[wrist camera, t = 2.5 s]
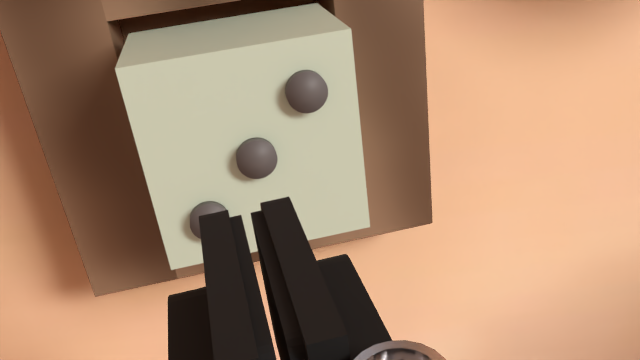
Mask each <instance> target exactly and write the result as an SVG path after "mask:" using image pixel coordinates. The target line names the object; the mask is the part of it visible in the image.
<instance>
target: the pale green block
mask: <svg viewBox="0 0 640 360" xmlns="http://www.w3.org/2000/svg"><path fill="white" fill-rule="evenodd" d="M115 71H116V75H117V78H118V82H119V86H120V89H121V93H122V96H123V100H124V103H125V107H126V111H127V114H128V118H129V121H130V125H131V128H132V132H133V136H134V139H135V143H136V146H137V150H138V153H139V157H140V161H141V164H142V168H143V171H144V175H145V178H146V182H147V186H148V189H149V193H150V196H151V200H152V203H153V207H154V211H155V214H156V218H157V221H158V225H159V229H160V232H161V236H162V239H163V243H164V246H165V250H166V254H167V257H168V261H169V264H170V268H171V270H174V269H178V268H183V267H188V266H192V265H197V264H201V263H203V254H202V245H201V235H200V226H199V216H201V215H206V214H211V213H215V212H220V211H225V210H228V212H229V217H233V216H238V215H241V216H242V220H243V224H244V228H245V232H246V236H247V240H248V244H249V249H250V253H252V252H257V251H258V249H257V244H256V239H255V234H254V229H253V224H252V219H251V213H252V212H256V211H261V206H260V203H261V202H266V201H271V200H275V199H280V198H284V197H290V199H291V202H292V204H293V206H294V209H295V211H296V214H297V216H298V218H299V221H300V223H301V225H302V228H303V230H304V233H305V235H306V237H307V240H312V239H317V238H322V237H326V236H331V235H336V234H340V233H345V232H349V231H354V230H359V229H363V228H368V227H370V220H369V209H368V199H367V188H366V178H365V168H364V157H363V147H362V136H361V126H360V115H359V105H358V94H357V84H356V73H355V63H354V52H353V42H352V31H351V28H350V27H348V26H347V25H346V24H344V23H343V22H342V21H340V20H339V19H338V18H336V17H335V16H334V15H332V14H331V13H330V12H328V11H327V10H326V9H324V8H323V7H322V6H320V5H319V4H318V3H313V4H307V5H301V6H294V7H288V8H282V9H276V10H270V11H264V12H257V13H251V14H245V15H239V16H233V17H226V18H220V19H214V20H208V21H202V22H195V23H189V24H183V25H177V26H171V27H164V28H158V29H152V30H146V31H140V32H134V33H129V34H128V37H127V39H126V42H125V44H124V47H123V49H122V52H121V54H120V57H119V59H118V62H117V64H116V67H115Z"/></svg>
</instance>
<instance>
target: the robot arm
mask: <svg viewBox="0 0 640 360" xmlns="http://www.w3.org/2000/svg"><path fill="white" fill-rule="evenodd" d="M260 206H261V211H256V212H252V213H251V219H252V224H253V229H254V234H255V239H256V244H257V249H258V254H259V260H260V265H261V270H262V275H263V280H264V285H265V290H266V295H267V300H268V305H269V310H270V315H271V320H272V325H273V330H274V335H275V339H276V344H277V348H278V352H279V356H280V360H446V359H445V358H444V357H443V356H441V355H440V354H439V353H438V352H437V351H436V350H434V349H432V348H430V347H428V346H425V345H423V344H421V343H416V342H411V341H406V340H403V341H392V339H391V337H390V335H389V333H388V331H387V330H386V328H385V326H384V324H383V322H382V320H381V318H380V316H379V314H378V312H377V310H376V308H375V306H374V304H373V302H372V301H371V299H370V297H369V295H368V293H367V291H366V289H365V287H364V285H363V283H362V281H361V279H360V277H359V275H358V273H357V272H356V270H355V268H354V266H353V264H352V262H351V260H350V258H349V257H348V255H346V254H343V255H339V256H335V257H330V258H326V259H322V260H318V261H316V259H315V256H314V254H313V251H312V249H311V247H310V244H309V242H308V240H307V237H306V235H305V233H304V230H303V228H302V225H301V223H300V221H299V218H298V216H297V214H296V211H295V209H294V206H293V204H292V202H291V199H290V197H284V198H280V199H275V200H271V201H266V202H261V203H260ZM199 226H200V235H201V245H202V254H203V263H204V272H205V282H206V287H203V288H199V289H195V290H190V291H186V292H182V293H178V294H173V295H169V297H168V360H276V356H275V351H274V347H273V343H272V338H271V334H270V330H269V326H268V322H267V318H266V314H265V310H264V306H263V302H262V298H261V294H260V289H259V285H258V281H257V277H256V273H255V269H254V265H253V261H252V257H251V253H250V249H249V244H248V240H247V236H246V232H245V228H244V224H243V220H242V216H241V215H238V216H233V217H229V212H228V210H225V211H220V212H215V213H211V214H206V215H201V216H199Z"/></svg>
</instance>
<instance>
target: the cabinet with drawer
mask: <svg viewBox="0 0 640 360" xmlns="http://www.w3.org/2000/svg"><path fill="white" fill-rule="evenodd" d="M232 1H239V0H0V31H1V34H2V37H3V40H4V43H5V45H6V48H7V51H8V54H9V57H10V59H11V62H12V65H13V68H14V71H15V73H16V76H17V79H18V82H19V85H20V87H21V90H22V93H23V96H24V99H25V101H26V104H27V107H28V110H29V113H30V115H31V118H32V121H33V124H34V127H35V129H36V132H37V135H38V138H39V141H40V143H41V146H42V149H43V152H44V155H45V157H46V160H47V163H48V166H49V169H50V171H51V174H52V177H53V180H54V183H55V185H56V188H57V191H58V194H59V197H60V199H61V202H62V205H63V208H64V211H65V213H66V216H67V219H68V222H69V225H70V227H71V230H72V233H73V236H74V239H75V241H76V244H77V247H78V250H79V253H80V255H81V258H82V261H83V264H84V267H85V269H86V272H87V275H88V278H89V281H90V283H91V286H92V289H93V292H94V295H95V297H96V296H101V295H106V294H110V293H115V292H119V291H124V290H129V289H133V288H138V287H142V286H147V285H151V284H156V283H161V282H165V281H170V280H174V279H179V278H183V277H188V276H193V275H197V274H202V273H205V272H204V263H201V264H197V265H192V266H188V267H183V268H178V269H174V270H171V268H170V264H169V261H168V257H167V254H166V250H165V246H164V243H163V239H162V236H161V232H160V229H159V225H158V221H157V218H156V214H155V211H154V207H153V203H152V200H151V196H150V193H149V189H148V186H147V182H146V178H145V175H144V171H143V168H142V164H141V161H140V157H139V153H138V150H137V146H136V143H135V139H134V136H133V132H132V128H131V125H130V121H129V118H128V114H127V111H126V107H125V103H124V100H123V96H122V93H121V89H120V86H119V82H118V78H117V75H116V71H115V67H116V64H117V62H118V59H119V57H120V54H121V52H122V49H123V47H124V40H123V36H122V33H121V29H120V25H119V21H118V20H119V19H125V18H131V17H138V16H144V15H150V14H157V13H163V12H169V11H176V10H182V9H188V8H195V7H201V6H207V5H213V4H220V3H226V2H232ZM319 4H320V6H322V7H323V8H324V9H326V10H327V11H328V12H330V13H331V14H332V15H334V16H335V17H336V18H338V19H339V20H340V21H342V22H343V23H344V24H346V25H347V26H348V27H350V28H351V31H352V42H353V52H354V63H355V73H356V84H357V94H358V105H359V115H360V126H361V136H362V147H363V157H364V168H365V178H366V188H367V199H368V209H369V220H370V227H368V228H363V229H359V230H354V231H349V232H345V233H340V234H336V235H331V236H326V237H322V238H317V239H312V240H308V242H309V244H310V247H311V249H316V248H321V247H325V246H330V245H334V244H339V243H344V242H348V241H353V240H357V239H362V238H367V237H371V236H376V235H380V234H385V233H389V232H394V231H399V230H403V229H408V228H412V227H417V226H421V225H426V224H431V223H432V201H431V177H430V153H429V128H428V104H427V80H426V55H425V31H424V7H423V0H319ZM251 257H252V261H253V262H257V261H260V260H259V254H258V251H257V252H252V253H251Z"/></svg>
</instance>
